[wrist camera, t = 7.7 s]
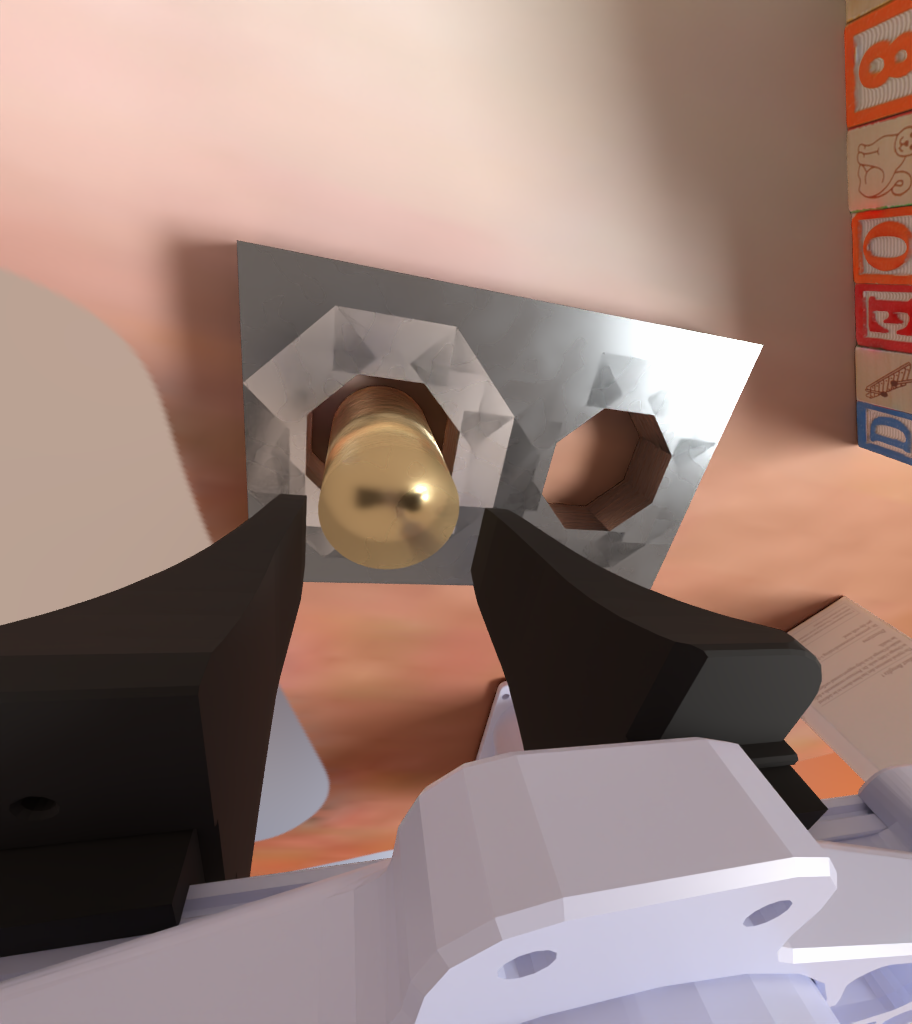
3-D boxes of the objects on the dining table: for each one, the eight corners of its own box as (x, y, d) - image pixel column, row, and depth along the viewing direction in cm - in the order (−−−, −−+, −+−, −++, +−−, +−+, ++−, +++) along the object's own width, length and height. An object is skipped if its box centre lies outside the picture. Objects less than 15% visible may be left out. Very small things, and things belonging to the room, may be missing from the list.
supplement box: (775, 696, 35) (963, 888, 24) (752, 649, 31) (961, 850, 21) (861, 645, 34) (1099, 822, 23) (847, 591, 30) (1121, 770, 20)
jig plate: (625, 561, 25) (650, 589, 23) (262, 547, 20) (251, 580, 18) (718, 336, 20) (762, 345, 17) (254, 244, 15) (236, 240, 13)
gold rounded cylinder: (419, 481, 20) (445, 572, 14) (328, 471, 19) (313, 565, 13) (435, 394, 18) (472, 455, 12) (335, 377, 17) (323, 436, 11)
